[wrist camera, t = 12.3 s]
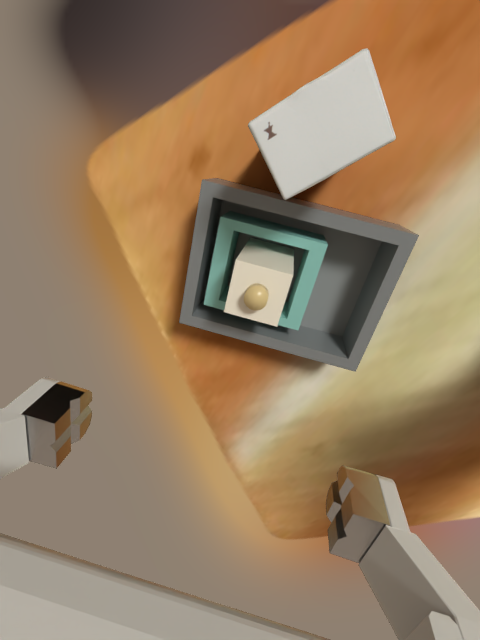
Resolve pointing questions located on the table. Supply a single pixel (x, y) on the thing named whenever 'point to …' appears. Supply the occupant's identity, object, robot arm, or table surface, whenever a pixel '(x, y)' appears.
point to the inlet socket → (275, 232)
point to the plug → (260, 281)
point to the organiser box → (331, 283)
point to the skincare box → (324, 126)
